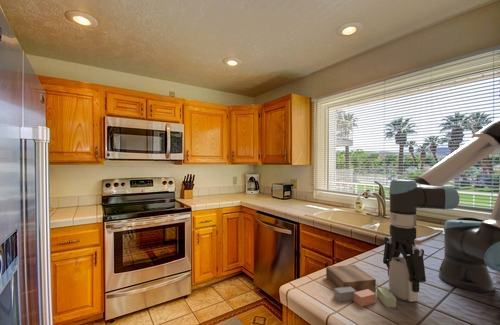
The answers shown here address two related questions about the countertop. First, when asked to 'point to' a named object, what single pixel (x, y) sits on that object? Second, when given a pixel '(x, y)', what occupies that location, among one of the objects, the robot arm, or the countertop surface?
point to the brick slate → (344, 293)
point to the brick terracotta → (364, 297)
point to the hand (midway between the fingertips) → (402, 293)
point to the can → (399, 278)
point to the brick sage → (386, 297)
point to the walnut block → (350, 277)
